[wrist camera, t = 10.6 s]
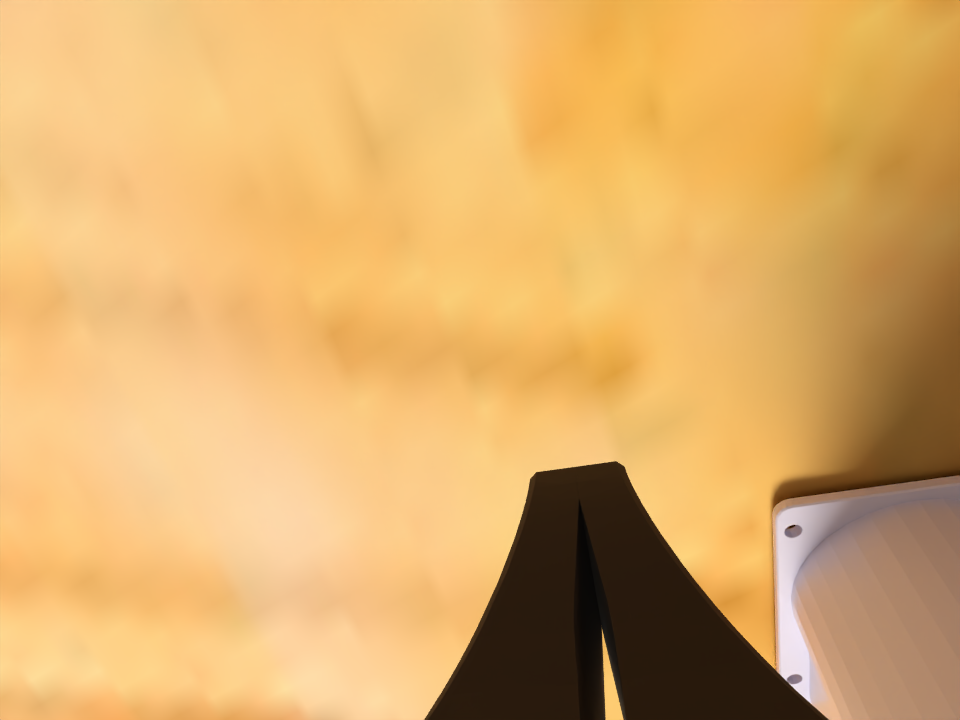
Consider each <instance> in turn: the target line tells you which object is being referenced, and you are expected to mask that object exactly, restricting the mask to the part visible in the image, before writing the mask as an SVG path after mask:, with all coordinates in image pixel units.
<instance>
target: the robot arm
mask: <svg viewBox="0 0 960 720" xmlns="http://www.w3.org/2000/svg"><path fill="white" fill-rule="evenodd" d="M772 517H773V555H774V592H775V630H776V668H777V671H776V670H775V669H774V668H773V667H772V666H771V665H770V664H769V663H768V662H767V661H766V660H765V659H764V658H763V657H762V656H761V655H760V654H759V653H758V652H757V651H756V650H755V649H754V648H753V647H752V646H751V645H750V643H749V642H748V641H747V640H746V639H745V638H744V637H743V636H742V635H741V634H740V633H739V632H738V631H737V630H736V628H735V627H734V626H733V625H732V624H731V623H730V622H729V621H728V620H727V618H726V617H725V616H724V615H723V614H722V613H721V611H720V610H719V609H718V608H717V607H716V606H715V604H714V603H713V602H712V601H711V600H710V598H709V597H708V596H707V595H706V593H705V592H704V591H703V590H702V589H701V587H700V586H699V585H698V584H697V582H696V581H695V580H694V579H693V577H692V576H691V575H690V573H689V572H688V571H687V570H686V568H685V567H684V566H683V564H682V563H681V562H680V560H679V559H678V557H677V556H676V554H675V553H674V552H673V550H672V549H671V547H670V546H669V545H668V543H667V542H666V540H665V539H664V538H663V536H662V535H661V533H660V532H659V530H658V529H657V527H656V526H655V524H654V523H653V521H652V520H651V518H650V516H649V515H648V513H647V511H646V510H645V508H644V506H643V505H642V503H641V501H640V499H639V498H638V496H637V494H636V492H635V490H634V488H633V486H632V484H631V482H630V480H629V478H628V475H627V473H626V470H625V467H624V466H623V465H621V464H620V463H618V462H617V461H615V462H608V463H601V464H593V465H586V466H579V467H572V468H564V469H557V470H550V471H543V472H536V473H535V474H534V476H533V477H532V478H531V479H530V484H529V490H528V494H527V499H526V503H525V507H524V510H523V514H522V517H521V520H520V524H519V527H518V530H517V533H516V536H515V539H514V542H513V544H512V547H511V550H510V552H509V555H508V558H507V560H506V563H505V566H504V568H503V571H502V574H501V576H500V578H499V581H498V583H497V586H496V588H495V590H494V592H493V594H492V597H491V599H490V601H489V603H488V605H487V608H486V610H485V612H484V614H483V616H482V618H481V621H480V623H479V625H478V627H477V629H476V631H475V633H474V635H473V637H472V639H471V641H470V643H469V645H468V647H467V649H466V651H465V652H464V654H463V656H462V658H461V660H460V662H459V663H458V665H457V667H456V669H455V670H454V672H453V674H452V676H451V677H450V679H449V681H448V683H447V684H446V686H445V688H444V689H443V691H442V693H441V694H440V696H439V697H438V699H437V701H436V702H435V704H434V705H433V707H432V709H431V710H430V712H429V713H428V715H427V716H426V718H425V720H605V697H604V672H603V647H602V630H603V634H604V638H605V643H606V647H607V651H608V655H609V660H610V664H611V668H612V672H613V676H614V681H615V685H616V689H617V693H618V698H619V702H620V706H621V710H622V714H623V719H624V720H960V475H958V476H951V477H943V478H936V479H929V480H921V481H914V482H907V483H900V484H892V485H885V486H878V487H870V488H863V489H856V490H848V491H841V492H834V493H827V494H819V495H812V496H805V497H797V498H790V499H786V500H783V501H781V502H779V503H778V504H777V505H776V506H775V507H774V509H773V513H772ZM791 525H796V526H794V527H793V528H790V529H786V528H787V527H788V526H791ZM601 625H602V626H601Z"/></svg>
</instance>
